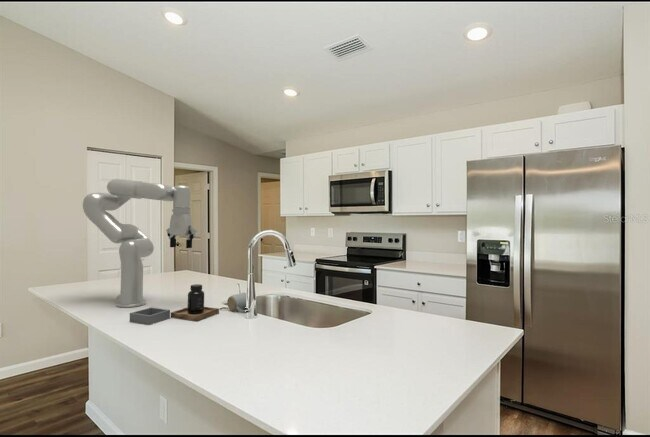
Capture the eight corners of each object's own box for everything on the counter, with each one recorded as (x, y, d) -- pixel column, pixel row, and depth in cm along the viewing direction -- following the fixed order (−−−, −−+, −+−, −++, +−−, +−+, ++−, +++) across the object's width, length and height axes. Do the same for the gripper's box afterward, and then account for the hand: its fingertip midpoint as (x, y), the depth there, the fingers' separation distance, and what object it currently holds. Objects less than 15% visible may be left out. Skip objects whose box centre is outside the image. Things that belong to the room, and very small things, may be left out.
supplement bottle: (183, 313, 153) (184, 285, 153) (195, 310, 159) (196, 283, 159) (196, 315, 150) (196, 287, 150) (207, 311, 156) (208, 284, 156)
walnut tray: (170, 317, 151) (170, 312, 151) (193, 310, 164) (193, 305, 164) (197, 321, 146) (197, 316, 146) (218, 313, 159) (218, 308, 159)
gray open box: (129, 321, 144) (129, 313, 144) (150, 315, 154) (150, 307, 154) (149, 324, 140) (149, 316, 140) (169, 318, 150) (170, 309, 150)
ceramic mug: (225, 310, 165) (226, 293, 165) (240, 307, 171) (241, 291, 171) (239, 314, 158) (239, 297, 158) (254, 311, 164) (254, 294, 164)
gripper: (161, 211, 169) (160, 247, 169) (190, 211, 163) (189, 248, 163) (173, 211, 176) (172, 246, 176) (201, 212, 170) (200, 247, 170)
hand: (180, 247), depth 169 cm, fingers open, 9 cm apart
